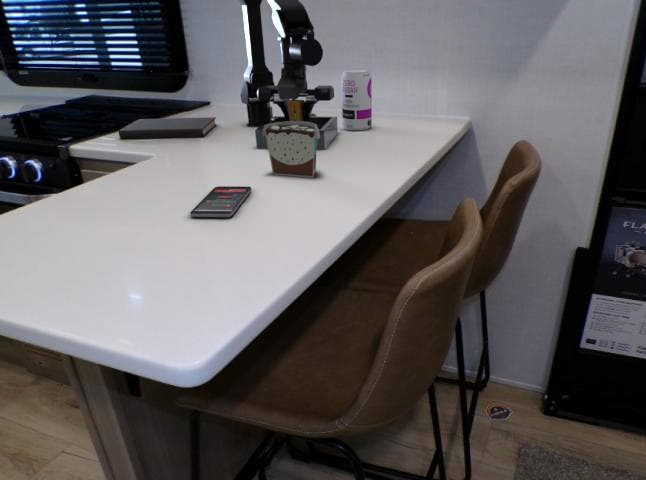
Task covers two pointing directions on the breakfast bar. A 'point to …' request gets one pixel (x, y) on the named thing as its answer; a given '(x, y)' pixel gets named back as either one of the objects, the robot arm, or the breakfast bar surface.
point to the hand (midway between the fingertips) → (298, 128)
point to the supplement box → (296, 110)
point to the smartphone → (221, 202)
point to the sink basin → (323, 123)
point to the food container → (292, 147)
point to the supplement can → (356, 99)
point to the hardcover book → (168, 128)
